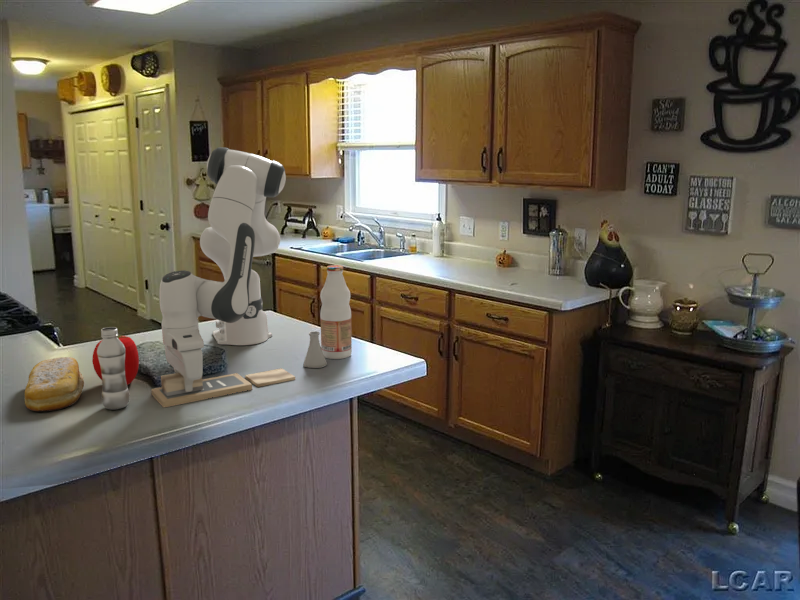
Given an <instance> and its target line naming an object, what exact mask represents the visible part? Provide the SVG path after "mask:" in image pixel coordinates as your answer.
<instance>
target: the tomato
mask: <svg viewBox="0 0 800 600" xmlns="http://www.w3.org/2000/svg"><path fill="white" fill-rule="evenodd" d="M117 338H118V339H119V340H120V341H121V342H122V343H123V344H124V347H125V377H126V382H127V386H129V385H130V384H131V383H132V382H133V381H134V380H135V379H136V377H137V374H138V372H139V368H140V367H139V365H140V359H139V357H140V356H139V351H138V347H137V344H136V343H135V341H134V340H133V339H132V338H131V337H130V336H127V335H122V334H118V336H117ZM102 340H103V339H101V340H99V342H98V343H97V344H96V345H95V346H94V349H93V353H92V366H93V370H94V372H95V374H96V376H98V378H99V379H100V380H101V381H102V373H101V367H100V363H99V359H98V355H97V349H98V346H99V344H100V343H101V341H102Z"/></svg>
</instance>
